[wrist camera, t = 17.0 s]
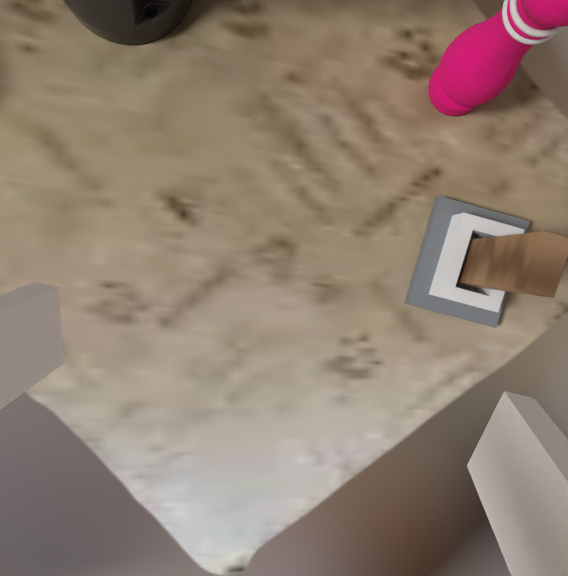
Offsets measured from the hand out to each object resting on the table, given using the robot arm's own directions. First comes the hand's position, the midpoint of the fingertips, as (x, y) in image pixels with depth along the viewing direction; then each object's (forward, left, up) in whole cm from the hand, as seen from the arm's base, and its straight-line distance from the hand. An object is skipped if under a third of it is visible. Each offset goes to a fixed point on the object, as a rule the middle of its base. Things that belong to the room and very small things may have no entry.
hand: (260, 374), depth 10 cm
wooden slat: (-9, +21, -30) cm, 38 cm away
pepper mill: (-28, +14, -31) cm, 44 cm away
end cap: (-9, +21, -31) cm, 39 cm away
